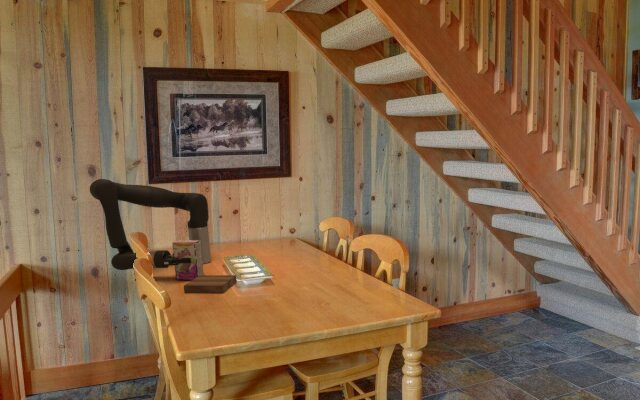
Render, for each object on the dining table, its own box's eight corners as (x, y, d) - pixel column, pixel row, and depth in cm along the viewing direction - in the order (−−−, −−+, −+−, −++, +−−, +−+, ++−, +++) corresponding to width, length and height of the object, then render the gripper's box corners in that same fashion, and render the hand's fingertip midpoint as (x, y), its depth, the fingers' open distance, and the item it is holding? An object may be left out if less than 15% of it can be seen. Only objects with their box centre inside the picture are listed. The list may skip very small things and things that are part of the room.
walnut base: (200, 282, 220) (199, 275, 219) (236, 282, 216) (235, 275, 216) (184, 293, 206) (183, 285, 206) (222, 293, 202) (222, 285, 202)
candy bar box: (175, 280, 226) (171, 242, 223) (182, 277, 230) (178, 239, 228) (198, 281, 222) (194, 242, 220) (204, 277, 227) (201, 239, 224)
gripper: (147, 254, 221) (184, 254, 217) (164, 246, 235) (200, 246, 231) (149, 272, 222) (186, 272, 218) (166, 263, 236) (202, 262, 232)
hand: (193, 258), depth 224 cm, fingers closed on candy bar box, 5 cm apart
